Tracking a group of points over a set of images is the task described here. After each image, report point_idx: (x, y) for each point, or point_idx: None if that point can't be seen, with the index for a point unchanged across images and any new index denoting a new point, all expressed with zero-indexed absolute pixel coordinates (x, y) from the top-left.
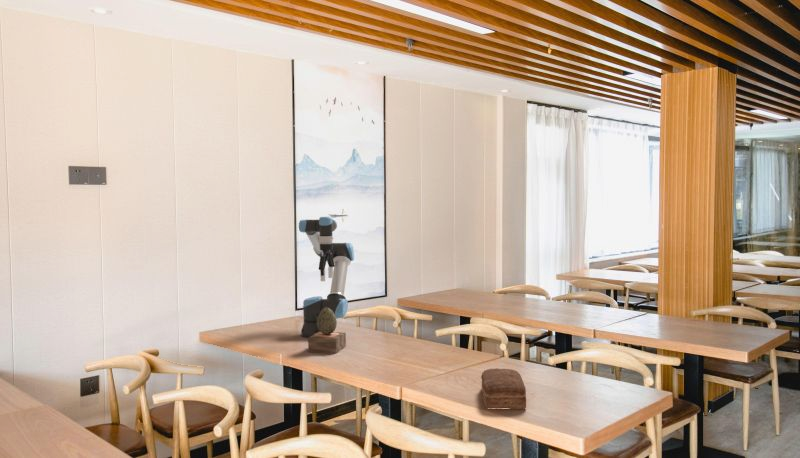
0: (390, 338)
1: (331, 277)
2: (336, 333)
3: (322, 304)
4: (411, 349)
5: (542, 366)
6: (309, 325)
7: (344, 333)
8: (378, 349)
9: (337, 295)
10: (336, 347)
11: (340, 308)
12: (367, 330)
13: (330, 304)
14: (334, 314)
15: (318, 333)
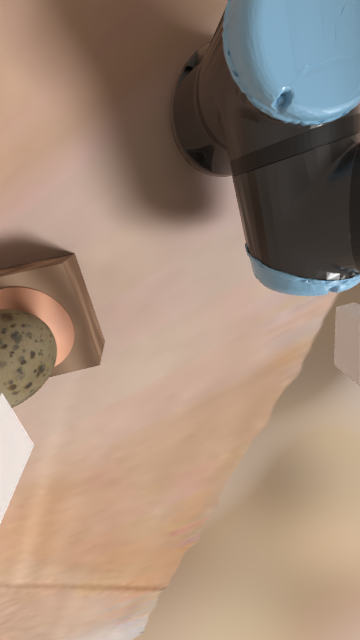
0: (245, 391)
1: (338, 353)
2: (59, 353)
3: (259, 165)
4: (153, 477)
5: (134, 632)
6: (192, 108)
7: (87, 367)
8: (119, 426)
9: (352, 249)
10: None
11: (262, 280)
12: None
13: (269, 222)
14: (16, 405)
15: (18, 291)
